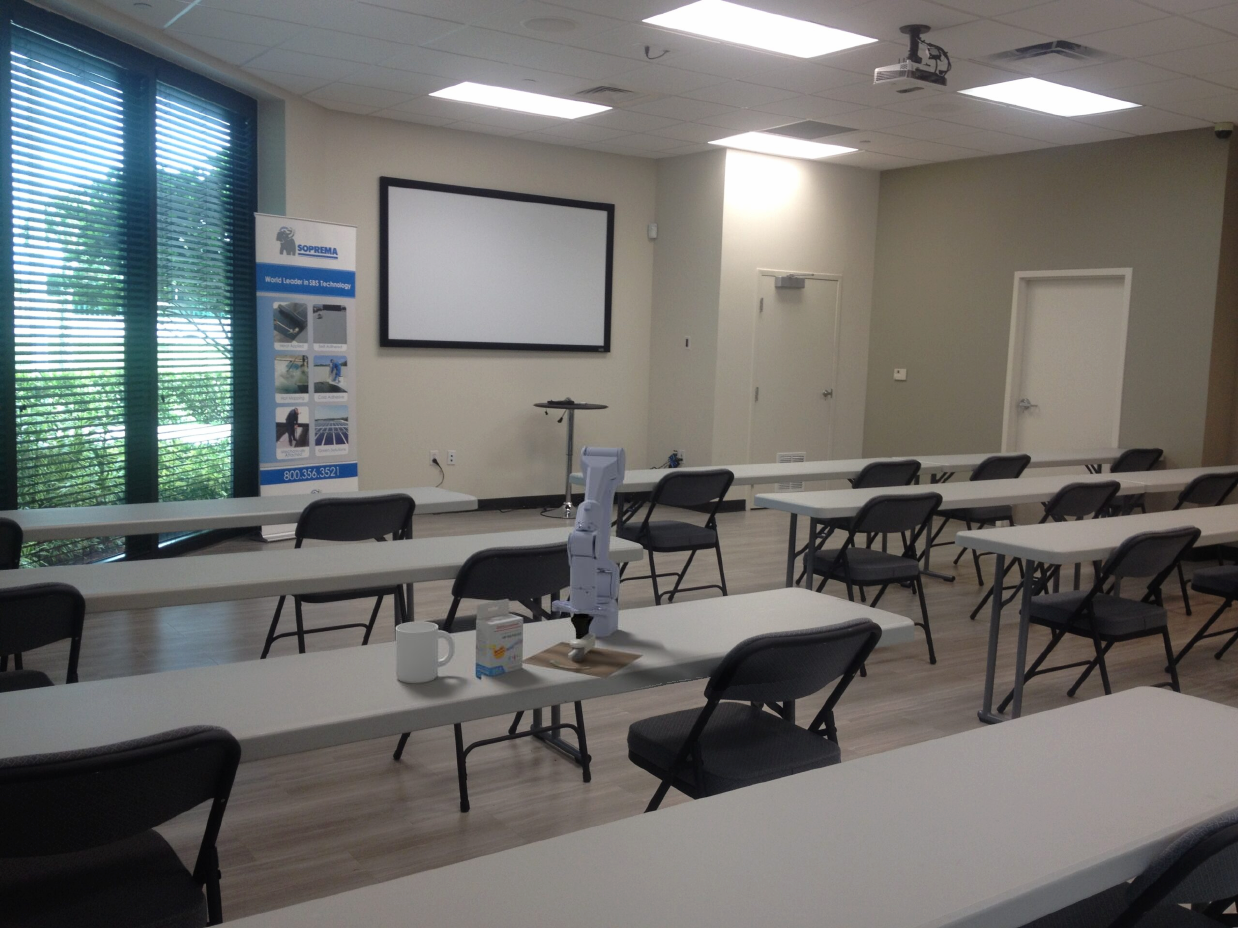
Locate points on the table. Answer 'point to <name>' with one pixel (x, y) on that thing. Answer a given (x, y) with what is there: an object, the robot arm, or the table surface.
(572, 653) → the lever
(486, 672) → the ink box
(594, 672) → the wood grain tray mat
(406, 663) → the mug
